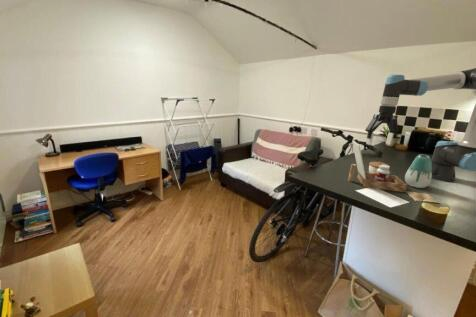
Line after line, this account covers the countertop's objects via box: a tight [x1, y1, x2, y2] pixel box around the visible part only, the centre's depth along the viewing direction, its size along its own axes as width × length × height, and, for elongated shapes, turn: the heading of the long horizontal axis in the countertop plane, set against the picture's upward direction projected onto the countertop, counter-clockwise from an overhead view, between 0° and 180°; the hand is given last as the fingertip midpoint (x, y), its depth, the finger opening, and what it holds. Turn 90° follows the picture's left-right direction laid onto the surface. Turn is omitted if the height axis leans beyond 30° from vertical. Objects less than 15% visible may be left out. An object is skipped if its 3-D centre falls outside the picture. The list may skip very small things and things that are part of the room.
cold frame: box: [347, 163, 409, 193], centre depth 126 cm, size 26×14×10 cm, turn 78°
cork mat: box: [405, 190, 436, 203], centre depth 113 cm, size 10×10×1 cm
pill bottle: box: [373, 164, 391, 182], centre depth 125 cm, size 6×6×11 cm
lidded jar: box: [368, 161, 391, 173], centre depth 138 cm, size 11×11×9 cm
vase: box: [404, 153, 433, 189], centre depth 125 cm, size 12×12×18 cm
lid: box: [351, 140, 366, 179], centre depth 126 cm, size 19×13×1 cm
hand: (378, 144), depth 127 cm, fingers open, 13 cm apart
